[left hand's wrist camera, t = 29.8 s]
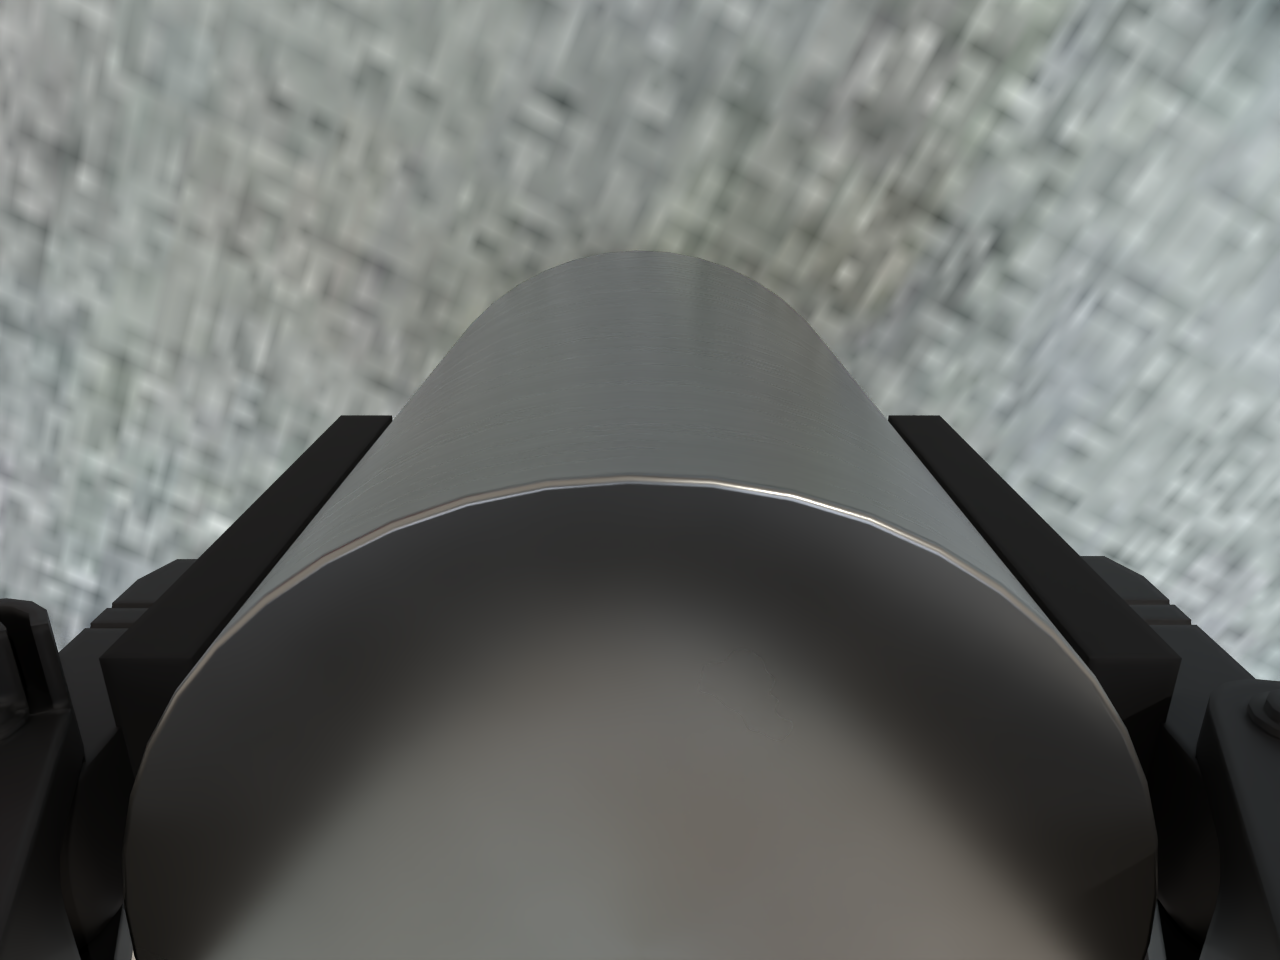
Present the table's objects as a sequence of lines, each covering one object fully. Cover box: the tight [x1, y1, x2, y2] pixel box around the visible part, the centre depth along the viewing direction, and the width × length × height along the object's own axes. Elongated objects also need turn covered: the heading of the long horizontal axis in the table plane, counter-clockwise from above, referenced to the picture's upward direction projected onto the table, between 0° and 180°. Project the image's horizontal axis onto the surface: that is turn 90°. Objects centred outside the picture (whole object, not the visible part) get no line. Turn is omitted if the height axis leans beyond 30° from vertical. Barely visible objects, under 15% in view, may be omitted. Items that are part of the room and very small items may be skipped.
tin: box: [122, 251, 1158, 960], centre depth 11 cm, size 7×7×9 cm
